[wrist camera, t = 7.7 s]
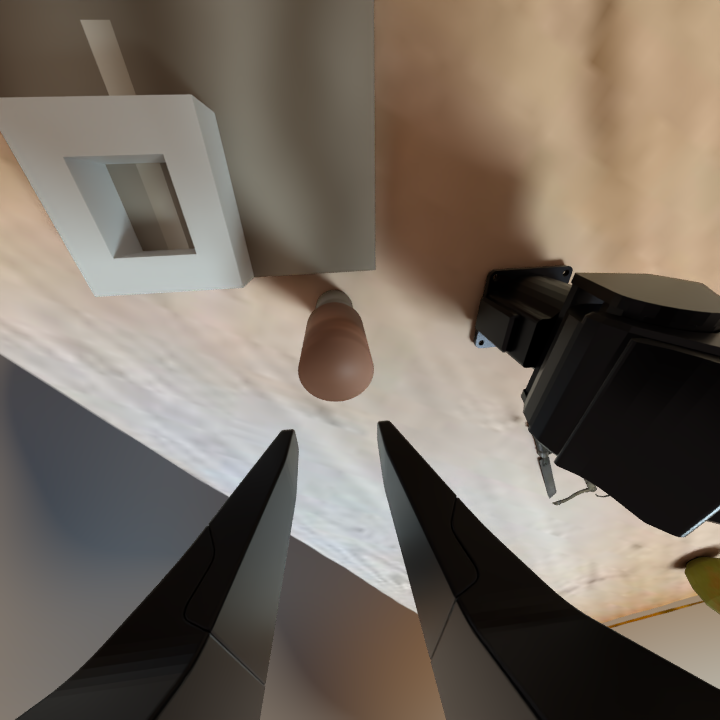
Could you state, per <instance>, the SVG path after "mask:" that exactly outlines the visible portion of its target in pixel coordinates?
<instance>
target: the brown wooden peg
mask: <svg viewBox="0 0 720 720" xmlns="http://www.w3.org/2000/svg"><path fill="white" fill-rule="evenodd" d="M373 373H374V366H373V361H372V358H371V354H370V350H369V346H368V342H367V338H366V335H365V331H364V327H363V323H362V320H361V317H360V316H359V314H358V313H357V312H356V311H355V310H354V309H353V306H352V302H351V300H350V298H349V297H348V296H347V295H346V294H345V293H343V292H341V291H338V290H330V291H327V292H325V293H323V294H322V295H321V296H320V297H319V299H318V301H317V304H316V309H315V310H314V311H313V312H312V314H311V315H310V317H309V319H308V322H307V327H306V332H305V337H304V342H303V347H302V352H301V357H300V362H299V367H298V374H299V378H300V381H301V383H302V385H303V386H304V388H305V389H306V390H307V391H308V392H309V393H311V394H312V395H313V396H315V397H317V398H320V399H322V400H326V401H345V400H349V399H351V398H354V397H356V396H358V395H359V394H361V393H362V392H363V391H364V390H365V389H366V388H367V387H368V386H369V384H370V382H371V380H372V378H373Z"/></svg>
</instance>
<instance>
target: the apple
mask: <svg viewBox="0 0 720 720" xmlns="http://www.w3.org/2000/svg"><path fill="white" fill-rule="evenodd" d="M685 575H686V577H687V579H688V581H689V582H690V584H691V586H692V588H693V589H694V591H695V592H696V593H697V594H698V595H699V596H700V598H701V599H702V600H703V601H704V602H705V603H706V605H708V606H709V607H710V608H712V609H713V610H714V611H716V612H717V613H719V614H720V558H712V557H699V558H696V559H693V560H691V561H689V562H688V563H687V565H686V569H685Z"/></svg>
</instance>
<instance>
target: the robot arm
mask: <svg viewBox="0 0 720 720" xmlns="http://www.w3.org/2000/svg"><path fill="white" fill-rule="evenodd" d="M564 271H565V273H564V274H563V272H564ZM572 271H573V270H572V267H570V266H566V265H560V266H543V267H527V268H510V269H495V270H492V271H490V272H489V274H488V276H487V280H486V285H485V290H484V294H483V298H482V299H481V302H480V306H479V311H478V316H477V321H476V326H475V328H476V332H475V337H474V345H475V346H476V347H478V348H487V347H497V348H498V349H499V350H501V351H502V352H506V353H508V354H509V355H510V356H511V357H512V358H513V359H515V360H516V361H517V362H518V363H519V364H521V365H522V366H523V367H524V368H530V367H532V368H533V369H534V371H533V374H532V376H531V378H530V380H529V383H528V385H527V387H526V389H524V390H523V392H522V394H521V398H522V400H523V402H524V409H523V413H524V415H525V417H526V420H527V422H528V424H529V425H530V426H529V428H528V430H529V432H530V433H531V434H532V435H533V436H534V437H535V439H536V440H537V441H538V442H539V443H540V444H542V445H543V446H544V447H545V448H547V449H548V450H549V451H550V452H552V453H553V454H555V455H556V456H557V457H556V459H555V461H554V463H555V464H556V465H557V466H559V467H561V468H563V469H565V470H568V471H570V472H572V473H574V474H577V475H579V476H580V477H582V478H584V479H585V480H587V481H589V482H591V483H592V484H594V485H596V486H597V487H599V488H600V489H602V490H603V491H604V492H606V493H607V494H608V495H610V496H611V497H613V498H614V499H615V500H616V501H618V502H619V503H620V504H621V505H623V506H624V507H625V508H626V509H628V510H629V511H630V512H632V513H633V514H634V515H635V516H637V517H638V518H639V519H640V520H642V521H643V522H645V523H647V524H649V525H651V526H653V527H656V528H658V529H660V530H662V531H665V532H667V533H669V534H671V535H674V536H677V537H686V536H687V535H688V534H690V533H691V532H692V531H694V530H695V529H696V528H698V527H699V526H700V525H702V524H703V523H704V522H705V521H708V522H712V523H716V524H720V296H719V295H718V294H716V293H715V292H714V291H712V290H711V289H710V288H708V287H707V286H706V285H704V284H702V283H699V282H693V281H688V280H682V279H676V278H670V277H664V276H659V275H653V274H627V273H575V275H574V277H573V279H572V281H571V283H572V285H570V284H568V283H569V280H570V277H571V274H572ZM495 274H497V277H496V278H495V279H493V277H494V275H495ZM481 340H482V342H481V343H479V341H481ZM377 441H378V449H379V456H380V462H381V469H382V476H383V482H384V488H385V492H386V496H387V500H388V503H389V507H390V511H391V515H392V518H393V522H394V526H395V530H396V533H397V537H398V541H399V545H400V548H401V552H402V556H403V559H404V563H405V567H406V571H407V574H408V578H409V582H410V586H411V589H412V593H413V597H414V601H415V604H416V608H417V612H418V616H419V619H420V623H421V627H422V630H423V634H424V638H425V642H426V646H427V649H428V653H429V657H430V659H431V664H432V668H433V672H434V676H435V680H436V683H437V687H438V691H439V694H440V698H441V702H442V705H443V709H444V713H445V717H446V720H720V689H718V688H716V687H714V686H712V685H710V684H709V683H707V682H705V681H703V680H702V679H700V678H698V677H696V676H694V675H693V674H691V673H689V672H687V671H685V670H684V669H682V668H680V667H678V666H677V665H675V664H673V663H671V662H669V661H668V660H666V659H664V658H662V657H660V656H659V655H657V654H655V653H653V652H651V651H650V650H648V649H646V648H644V647H643V646H640V645H639V644H637V643H635V642H634V641H632V640H630V639H628V638H626V637H625V636H623V635H621V634H619V633H617V632H616V631H614V630H612V629H610V628H609V627H607V626H605V625H603V624H601V623H600V622H598V621H596V620H594V619H592V618H591V617H589V616H587V615H586V614H584V613H583V612H581V611H580V610H578V609H577V608H575V607H574V606H572V605H571V604H570V603H568V602H567V601H566V600H564V599H563V598H562V597H561V596H559V595H558V594H557V593H556V592H555V591H553V590H552V589H551V588H550V587H549V586H548V585H547V584H546V583H545V582H544V581H542V580H541V579H540V578H539V577H538V576H537V575H536V574H535V573H534V572H533V571H532V570H531V569H530V568H529V567H527V566H526V565H525V564H524V563H523V562H522V561H521V560H520V559H519V558H518V557H517V556H516V555H515V554H514V553H512V552H511V551H510V550H509V549H508V548H507V547H506V546H505V545H504V544H503V543H502V542H501V541H500V540H499V539H498V538H497V537H496V536H495V535H493V534H492V533H491V532H490V531H489V530H488V529H487V528H486V527H485V526H484V525H483V524H482V523H481V522H480V521H479V520H478V518H477V517H476V516H475V515H474V514H473V513H472V512H471V511H470V510H469V509H468V508H467V507H466V506H465V504H464V503H463V502H462V501H461V500H460V499H459V498H456V497H457V496H456V494H455V493H454V492H453V491H452V490H451V489H450V488H449V487H448V486H447V484H446V483H445V482H444V481H443V480H442V479H441V478H440V477H439V475H438V474H437V473H436V472H435V471H434V470H433V469H432V468H431V467H430V465H429V464H428V463H427V462H426V461H425V460H424V459H423V458H422V456H421V455H420V454H419V453H418V452H417V451H416V450H415V449H414V447H413V446H412V445H411V444H410V443H409V442H408V441H407V440H406V439H405V437H404V436H403V435H402V434H401V433H400V432H399V431H398V430H397V428H396V427H395V426H394V425H393V424H392V423H391V422H390V421H379V422H378V424H377ZM298 455H299V448H298V442H297V438H296V434H295V431H294V430H293V429H289V430H282V431H281V432H280V433H279V434H278V436H277V437H276V438H275V440H274V441H273V442H272V443H271V445H270V446H269V447H268V449H267V450H266V451H265V452H264V454H263V455H262V456H261V457H260V459H259V460H258V461H257V463H256V464H255V465H254V466H253V468H252V469H251V470H250V471H249V473H248V474H247V475H246V477H245V478H244V479H243V480H242V482H241V483H240V484H239V486H238V487H237V488H236V489H235V491H234V492H233V493H232V494H231V496H230V497H229V498H228V500H227V501H226V502H225V503H224V505H223V506H222V507H221V509H220V510H219V511H218V512H217V514H216V515H215V516H214V517H213V519H212V520H211V521H210V523H209V526H206V527H205V529H204V530H203V531H202V533H201V534H200V535H199V536H198V538H197V539H196V540H195V541H194V543H193V544H192V545H191V547H190V548H189V549H188V550H187V551H186V553H185V554H184V555H183V556H182V557H181V559H180V560H179V561H178V562H177V563H176V564H175V566H174V567H173V568H172V569H171V570H170V571H169V573H168V574H167V575H166V576H165V577H164V578H163V579H162V580H161V582H160V583H159V584H158V585H157V586H156V587H155V588H154V589H153V591H152V592H151V593H150V594H149V595H148V596H147V597H146V598H145V599H144V601H143V602H142V603H141V604H140V605H139V606H138V607H137V608H136V609H135V610H134V611H133V612H132V614H131V615H130V616H129V617H128V618H127V619H126V620H125V621H124V622H123V624H122V625H121V626H120V627H119V628H118V629H117V630H116V631H115V632H114V633H113V635H112V636H111V637H110V638H109V639H108V640H107V641H106V642H105V643H104V644H103V646H102V647H101V648H100V649H99V650H98V651H97V652H96V653H95V654H94V655H93V656H92V657H91V658H90V659H89V660H88V661H87V662H86V663H85V664H84V665H83V666H82V667H81V668H80V669H79V670H78V671H77V672H76V673H74V674H73V675H72V676H71V677H70V678H69V679H68V680H67V681H66V682H65V683H63V684H62V685H61V686H59V688H57V689H56V690H55V691H54V692H52V693H51V694H49V695H48V696H47V697H46V698H44V699H43V700H41V701H40V702H39V703H37V704H36V705H35V706H33V707H32V708H30V709H29V710H28V711H26V712H25V713H24V714H22V715H21V716H20V717H18V718H17V719H15V720H260V715H261V708H262V703H263V696H264V690H265V686H264V685H265V683H266V678H267V672H268V666H269V660H270V654H271V648H272V642H273V636H274V629H275V623H276V617H277V611H278V605H279V599H280V593H281V587H282V581H283V575H284V569H285V563H286V557H287V550H288V544H289V538H290V532H291V526H292V520H293V514H294V508H295V502H296V493H297V475H298Z"/></svg>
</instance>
